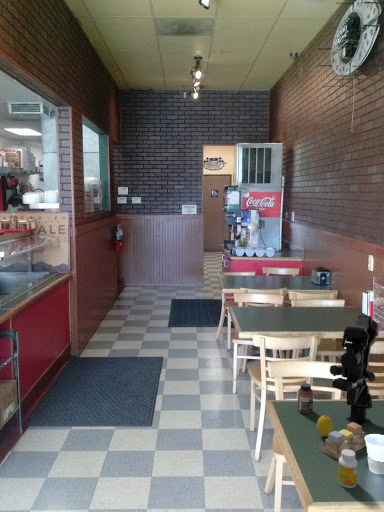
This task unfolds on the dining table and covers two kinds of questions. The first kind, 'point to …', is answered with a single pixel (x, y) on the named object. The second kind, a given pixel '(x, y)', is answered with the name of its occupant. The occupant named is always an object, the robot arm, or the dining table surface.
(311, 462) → the dining table surface
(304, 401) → the supplement bottle
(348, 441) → the button board
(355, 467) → the supplement bottle
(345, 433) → the button yellow
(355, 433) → the button terracotta
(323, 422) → the lemon
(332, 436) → the button slate
